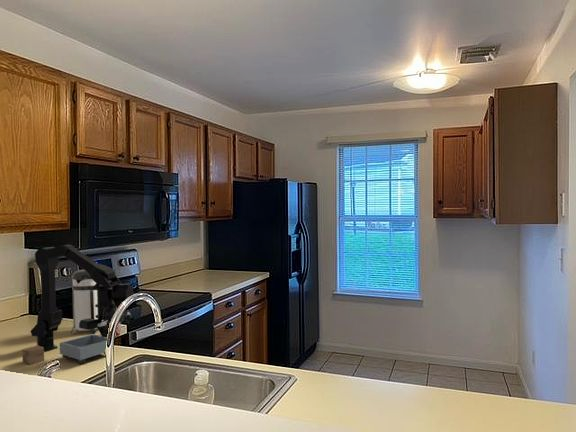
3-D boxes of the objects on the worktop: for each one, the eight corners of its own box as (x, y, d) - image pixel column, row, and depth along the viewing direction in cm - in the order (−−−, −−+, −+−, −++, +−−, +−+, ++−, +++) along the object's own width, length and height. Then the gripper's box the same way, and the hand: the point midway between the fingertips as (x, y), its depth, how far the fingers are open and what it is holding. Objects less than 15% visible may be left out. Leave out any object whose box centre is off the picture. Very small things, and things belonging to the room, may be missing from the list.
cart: (60, 358, 162) (59, 342, 162) (93, 348, 173) (92, 333, 172) (80, 365, 155) (79, 348, 154) (113, 354, 165) (113, 339, 165)
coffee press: (113, 331, 198) (111, 263, 197) (73, 337, 189) (71, 267, 188) (104, 323, 212) (102, 260, 212) (67, 328, 203) (65, 263, 203)
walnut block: (22, 362, 159) (22, 348, 159) (37, 358, 163) (36, 345, 163) (29, 365, 156) (29, 351, 156) (44, 361, 160) (43, 347, 160)
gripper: (95, 308, 158) (96, 352, 158) (139, 299, 173) (140, 338, 174) (77, 305, 164) (78, 347, 164) (121, 296, 179) (122, 334, 180)
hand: (106, 342), depth 170 cm, fingers closed
